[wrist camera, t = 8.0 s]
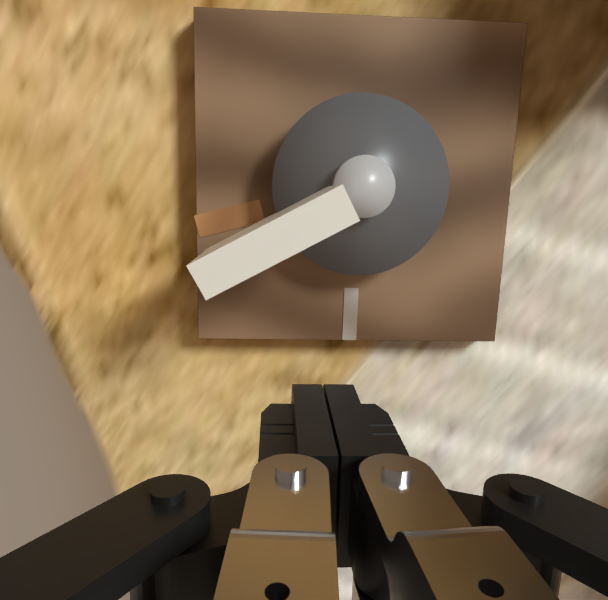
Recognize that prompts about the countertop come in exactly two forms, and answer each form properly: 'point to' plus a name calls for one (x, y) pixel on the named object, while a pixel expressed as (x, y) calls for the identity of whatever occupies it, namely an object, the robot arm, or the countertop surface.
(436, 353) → the countertop surface
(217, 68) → the dial plate
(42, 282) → the countertop surface
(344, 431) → the robot arm
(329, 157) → the dial
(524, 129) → the countertop surface
